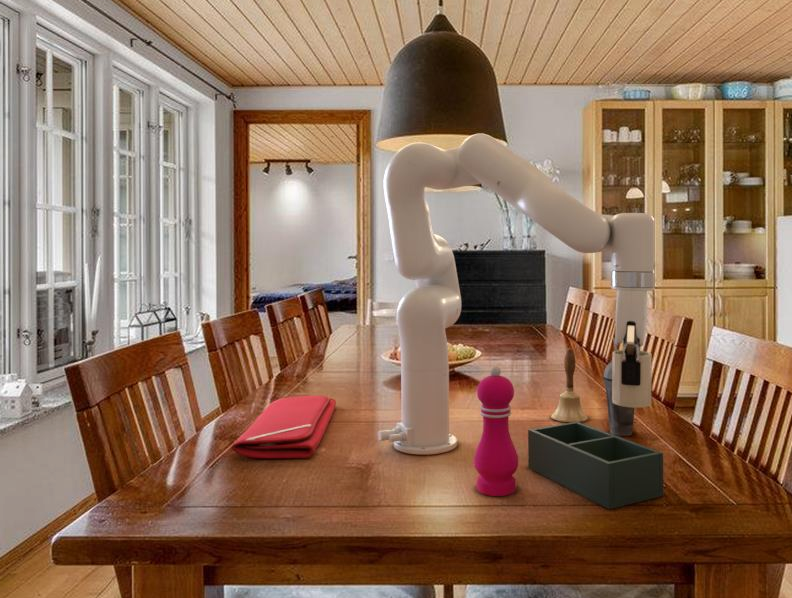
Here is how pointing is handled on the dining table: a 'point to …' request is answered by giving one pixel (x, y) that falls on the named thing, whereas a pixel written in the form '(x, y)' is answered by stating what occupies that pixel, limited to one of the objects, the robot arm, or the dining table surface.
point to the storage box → (596, 464)
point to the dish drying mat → (287, 428)
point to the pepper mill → (495, 437)
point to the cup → (632, 393)
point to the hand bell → (569, 396)
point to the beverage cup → (617, 408)
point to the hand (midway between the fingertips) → (631, 379)
